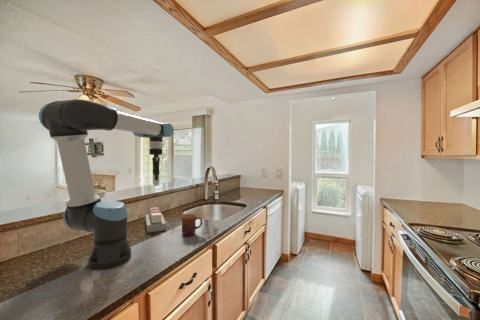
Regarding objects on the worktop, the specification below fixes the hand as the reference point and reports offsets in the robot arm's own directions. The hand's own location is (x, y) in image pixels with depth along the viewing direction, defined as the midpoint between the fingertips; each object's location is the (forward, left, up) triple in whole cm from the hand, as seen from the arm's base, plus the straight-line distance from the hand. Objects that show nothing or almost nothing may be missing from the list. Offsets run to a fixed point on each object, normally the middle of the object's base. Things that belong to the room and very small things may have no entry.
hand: (155, 184), depth 126 cm
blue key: (0, +7, -21) cm, 22 cm away
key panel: (0, 0, -25) cm, 25 cm away
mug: (+17, -25, -26) cm, 39 cm away
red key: (0, 0, -21) cm, 21 cm away
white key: (0, -7, -21) cm, 22 cm away
